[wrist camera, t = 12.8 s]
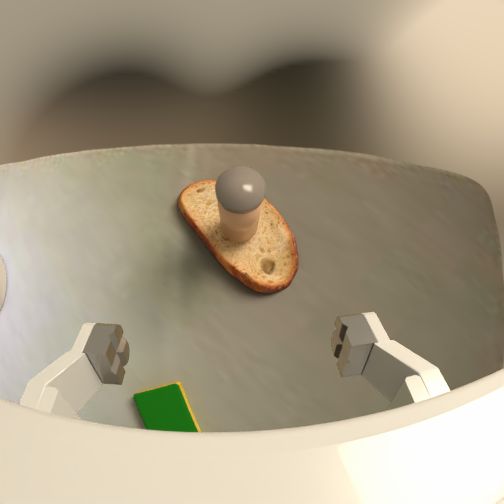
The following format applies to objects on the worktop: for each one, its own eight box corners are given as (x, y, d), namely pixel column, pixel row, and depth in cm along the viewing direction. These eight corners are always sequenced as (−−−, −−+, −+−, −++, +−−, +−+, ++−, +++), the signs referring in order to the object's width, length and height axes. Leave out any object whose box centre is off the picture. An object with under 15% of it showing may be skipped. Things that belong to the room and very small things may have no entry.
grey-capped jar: (228, 248, 41) (226, 217, 31) (214, 215, 43) (208, 176, 32) (264, 234, 42) (273, 199, 32) (249, 202, 43) (253, 160, 33)
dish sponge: (172, 469, 35) (169, 476, 33) (137, 391, 38) (132, 394, 36) (215, 460, 36) (214, 467, 34) (180, 380, 39) (177, 383, 37)
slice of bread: (178, 185, 47) (174, 173, 43) (289, 181, 48) (293, 169, 44) (176, 296, 42) (170, 293, 39) (299, 292, 43) (305, 288, 40)
